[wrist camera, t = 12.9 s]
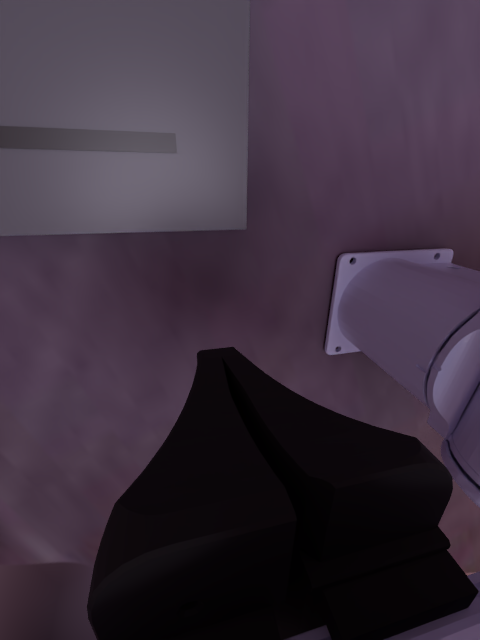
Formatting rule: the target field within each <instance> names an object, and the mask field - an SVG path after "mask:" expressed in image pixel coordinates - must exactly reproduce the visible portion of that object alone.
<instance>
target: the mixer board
mask: <svg viewBox="0 0 480 640" xmlns="http://www.w3.org/2000/svg"><path fill="white" fill-rule="evenodd" d="M249 35H250V0H0V236H24V235H61V234H97V233H134V232H170V231H207V230H243V229H246V226H247V162H248V99H249Z"/></svg>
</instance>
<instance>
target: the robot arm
mask: <svg viewBox="0 0 480 640" xmlns="http://www.w3.org/2000/svg"><path fill="white" fill-rule="evenodd" d="M435 254H436V256H435ZM434 256H435V257H434ZM351 258H353V261H352V262H351V263H350V259H351ZM452 258H453V250H452V249H448V248H438V249H417V250H397V251H377V252H356V253H343V254H341V255H340V256H339V257H338V260H337V266H336V273H335V280H334V287H333V293H332V300H331V307H330V314H329V321H328V328H327V335H326V342H325V352H326V353H327V354H328V355H336V354H343V353H351V352H359V351H362V352H363V353H364V354H365V355H366V356H367V357H369V358H370V359H371V360H372V361H373V362H375V363H376V364H377V365H378V366H379V367H381V368H382V369H383V370H384V371H385V372H386V373H388V374H389V375H390V376H391V377H392V378H394V379H395V380H396V381H397V382H398V383H400V384H401V385H402V386H403V387H404V388H405V389H407V390H408V391H409V392H410V393H411V394H413V395H414V396H415V397H416V398H417V399H419V400H420V401H421V402H422V403H423V404H424V405H426V406H427V407H428V408H429V409H430V416H429V418H428V421H427V423H428V424H429V425H430V426H431V427H432V428H433V429H434V430H436V431H437V432H438V433H439V434H440V435H441V436H442V437H443V438H444V440H443V442H442V445H441V456H442V459H443V462H444V464H445V466H446V467H445V466H444V465H443V464H442V463H441V462H440V461H439V460H438V459H437V458H436V457H435V456H434V455H433V454H432V453H431V452H430V451H429V450H428V449H427V448H426V447H425V446H424V445H423V444H422V443H421V442H420V441H419V440H418V439H417V438H415V437H412V436H408V435H404V434H401V433H397V432H393V431H390V430H386V429H382V428H379V427H375V426H372V425H369V424H366V423H363V422H360V421H358V420H355V419H352V418H349V417H346V416H344V415H341V414H339V413H336V412H334V411H332V410H329V409H327V408H325V407H323V406H320V405H318V404H316V403H314V402H312V401H310V400H308V399H306V398H304V397H302V396H300V395H299V394H297V393H295V392H293V391H291V390H290V389H288V388H286V387H285V386H283V385H282V384H280V383H279V382H277V381H276V380H274V379H273V378H271V377H270V376H269V375H267V374H266V373H264V372H263V371H262V370H260V369H259V368H258V367H257V366H255V365H254V364H253V363H252V362H250V361H249V360H248V359H247V358H246V357H244V356H243V355H242V354H241V353H240V352H239V351H237V350H236V349H235V348H234V347H227V348H219V349H210V350H201V351H199V352H198V353H197V369H196V374H195V377H194V381H193V385H192V388H191V390H190V393H189V396H188V398H187V401H186V403H185V405H184V408H183V410H182V412H181V414H180V416H179V418H178V420H177V422H176V423H175V425H174V427H173V428H172V430H171V432H170V434H169V435H168V437H167V439H166V440H165V442H164V443H163V445H162V446H161V448H160V449H159V450H158V452H157V453H156V454H155V456H154V457H153V458H152V460H151V461H150V463H149V464H148V465H147V467H146V468H145V469H144V471H143V472H142V473H141V474H140V475H139V477H138V478H137V479H136V480H135V481H134V482H133V483H132V485H131V486H130V487H129V488H128V489H127V490H126V491H125V493H124V494H123V495H122V496H121V497H120V498H119V499H118V500H117V502H116V503H115V505H114V507H113V510H112V512H111V515H110V517H109V520H108V522H107V525H106V528H105V531H104V534H103V537H102V540H101V543H100V546H99V550H98V553H97V557H96V561H95V565H94V569H93V575H92V581H91V587H90V592H89V598H88V604H87V611H88V619H89V621H90V624H91V626H92V629H93V631H94V633H95V635H96V638H97V640H480V572H477V573H474V574H471V575H468V576H467V575H466V574H465V573H464V571H463V570H462V569H461V568H460V566H459V565H458V564H457V562H456V561H455V560H454V559H453V557H452V556H451V555H450V553H449V552H448V551H447V550H446V549H449V547H450V542H449V539H448V538H447V537H446V536H445V534H444V533H443V532H442V531H441V530H440V528H439V527H438V524H439V521H440V519H441V517H442V515H443V513H444V511H445V508H446V506H447V504H448V502H449V500H450V497H451V493H452V490H453V483H452V477H453V479H454V480H455V482H456V483H457V484H458V485H459V486H460V488H461V489H462V490H463V491H464V492H465V494H466V495H467V496H468V497H469V498H470V499H471V500H472V501H473V502H474V503H475V504H476V505H477V506H478V507H479V508H480V271H477V270H474V269H470V268H467V267H463V266H459V265H456V264H452V263H451V261H452ZM338 346H339V347H338ZM336 347H338V348H337V349H336ZM335 349H336V350H335Z"/></svg>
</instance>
